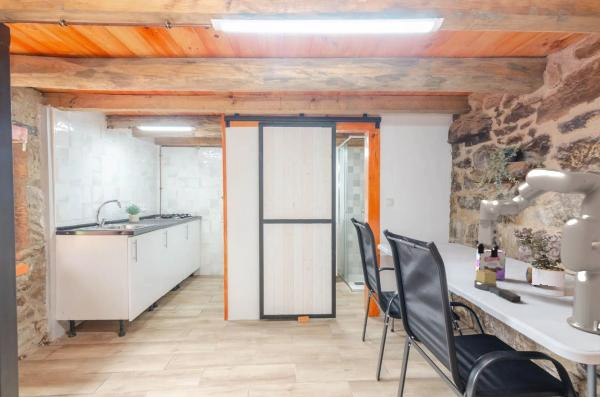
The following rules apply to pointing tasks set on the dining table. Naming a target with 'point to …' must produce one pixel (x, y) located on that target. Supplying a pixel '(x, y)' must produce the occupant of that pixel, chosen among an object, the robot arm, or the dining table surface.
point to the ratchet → (498, 291)
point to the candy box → (492, 263)
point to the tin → (529, 275)
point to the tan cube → (485, 276)
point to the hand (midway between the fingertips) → (487, 255)
